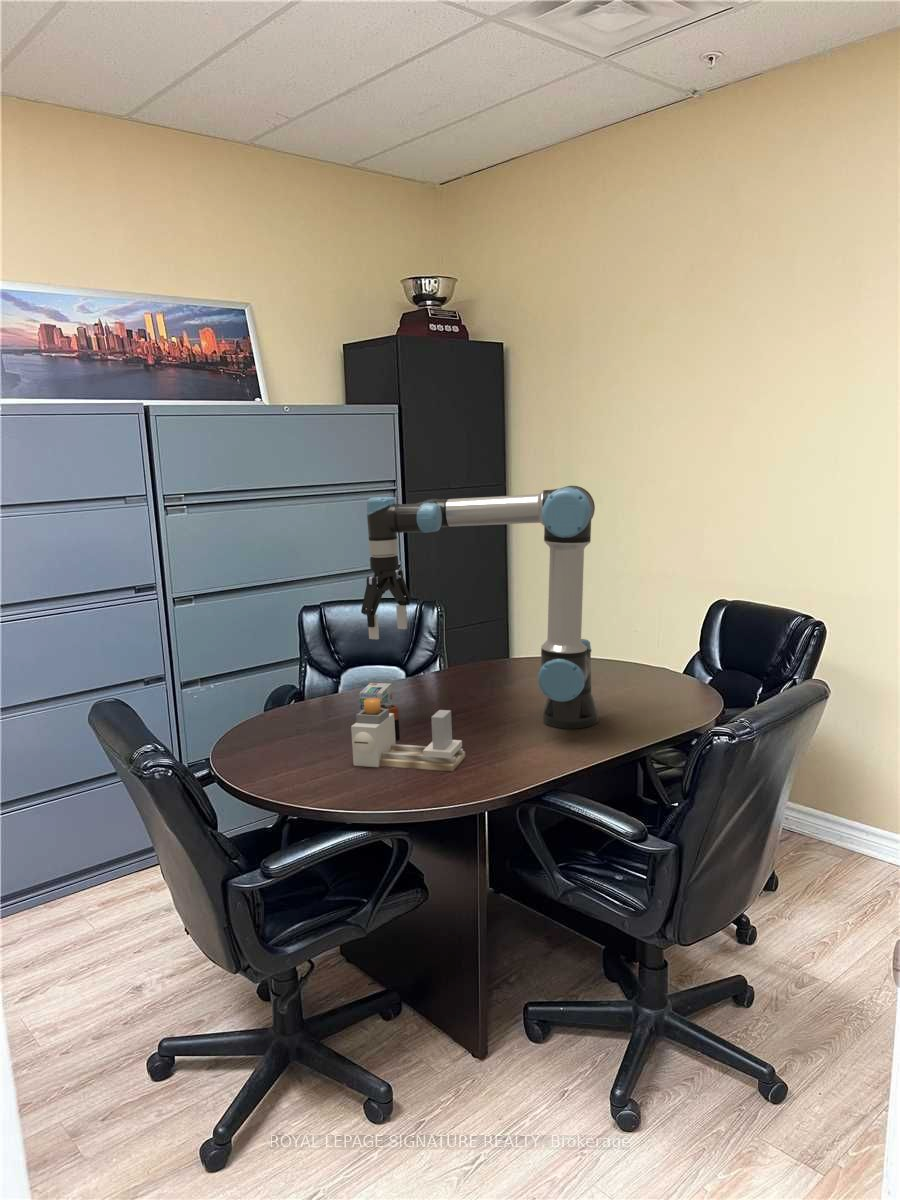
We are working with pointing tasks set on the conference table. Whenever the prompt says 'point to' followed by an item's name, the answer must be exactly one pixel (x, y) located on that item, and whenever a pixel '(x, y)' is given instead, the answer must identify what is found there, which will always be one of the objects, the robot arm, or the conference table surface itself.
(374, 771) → the conference table surface
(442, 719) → the carriage
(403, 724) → the conference table surface
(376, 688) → the light bulb box
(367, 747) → the cabinet
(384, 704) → the battery
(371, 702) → the button
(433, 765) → the rail bed
